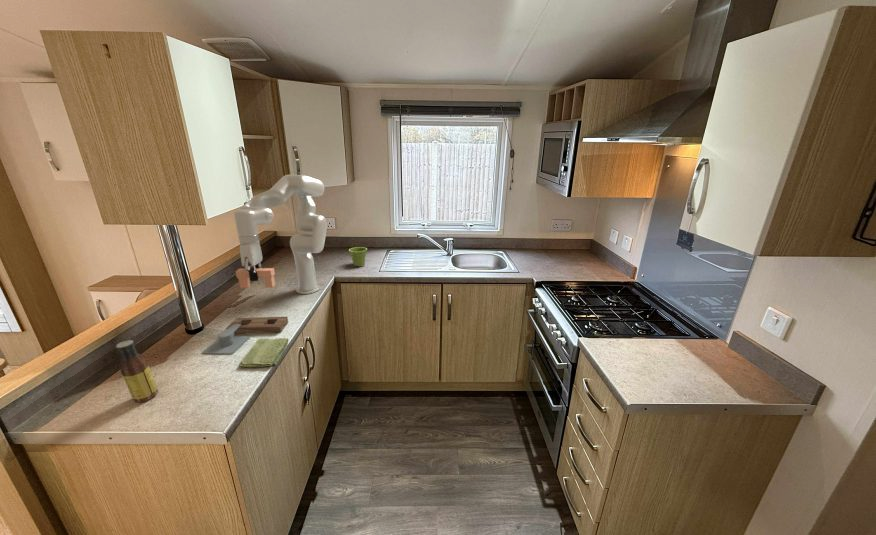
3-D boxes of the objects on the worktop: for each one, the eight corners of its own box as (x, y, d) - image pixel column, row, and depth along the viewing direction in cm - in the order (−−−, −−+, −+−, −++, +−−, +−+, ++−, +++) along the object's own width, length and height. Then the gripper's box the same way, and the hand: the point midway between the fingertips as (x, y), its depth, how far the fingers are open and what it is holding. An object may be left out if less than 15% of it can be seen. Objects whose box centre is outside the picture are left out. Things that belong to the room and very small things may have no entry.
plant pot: (371, 265, 226) (370, 249, 222) (357, 269, 218) (355, 253, 214) (361, 261, 234) (360, 245, 230) (346, 265, 225) (345, 249, 221)
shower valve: (252, 323, 140) (229, 343, 126) (254, 335, 142) (232, 355, 128) (223, 323, 141) (197, 342, 127) (226, 334, 143) (201, 354, 129)
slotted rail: (237, 324, 150) (236, 318, 149) (288, 322, 152) (287, 316, 151) (227, 334, 142) (225, 328, 141) (280, 332, 143) (279, 326, 142)
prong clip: (242, 285, 152) (239, 268, 149) (276, 284, 153) (273, 268, 150) (238, 288, 148) (235, 271, 146) (273, 287, 149) (270, 270, 147)
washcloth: (237, 370, 119) (235, 363, 118) (258, 343, 136) (257, 336, 135) (275, 369, 120) (273, 361, 119) (291, 342, 137) (290, 335, 136)
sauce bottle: (149, 388, 110) (131, 335, 103) (163, 392, 108) (145, 338, 102) (127, 402, 104) (105, 346, 97) (141, 406, 102) (121, 350, 96)
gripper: (249, 234, 151) (256, 272, 157) (229, 244, 135) (238, 286, 141) (266, 234, 151) (272, 272, 157) (249, 243, 136) (256, 285, 142)
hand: (256, 278), depth 149 cm, fingers closed on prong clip, 3 cm apart
